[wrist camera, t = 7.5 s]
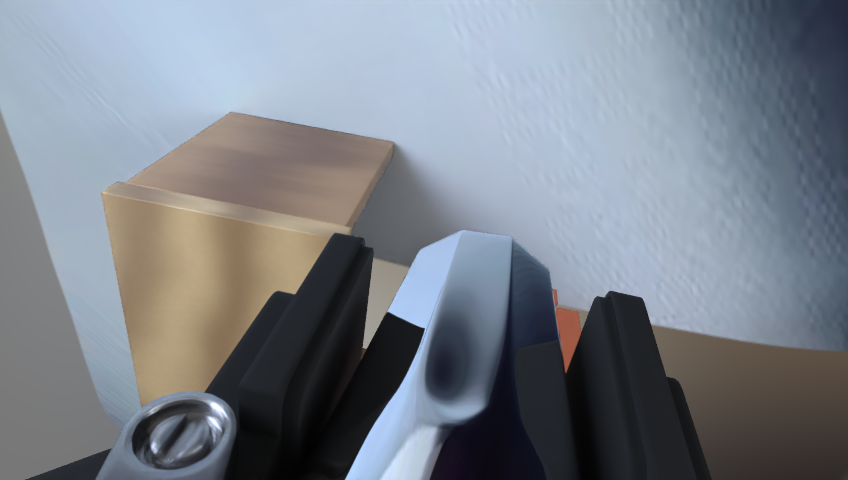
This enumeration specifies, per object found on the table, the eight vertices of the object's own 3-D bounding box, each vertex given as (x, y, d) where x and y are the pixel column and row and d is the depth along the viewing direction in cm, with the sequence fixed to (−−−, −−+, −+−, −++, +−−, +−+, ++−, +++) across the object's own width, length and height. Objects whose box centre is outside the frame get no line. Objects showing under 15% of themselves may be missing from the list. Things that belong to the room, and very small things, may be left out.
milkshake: (568, 141, 10) (707, 1388, 2) (598, 367, 12) (719, 1346, 4) (338, 180, 11) (-293, 983, 3) (406, 378, 14) (180, 1136, 5)
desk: (399, 142, 34) (344, 240, 24) (373, 360, 43) (326, 498, 33) (226, 110, 34) (100, 191, 24) (238, 331, 44) (150, 457, 34)
